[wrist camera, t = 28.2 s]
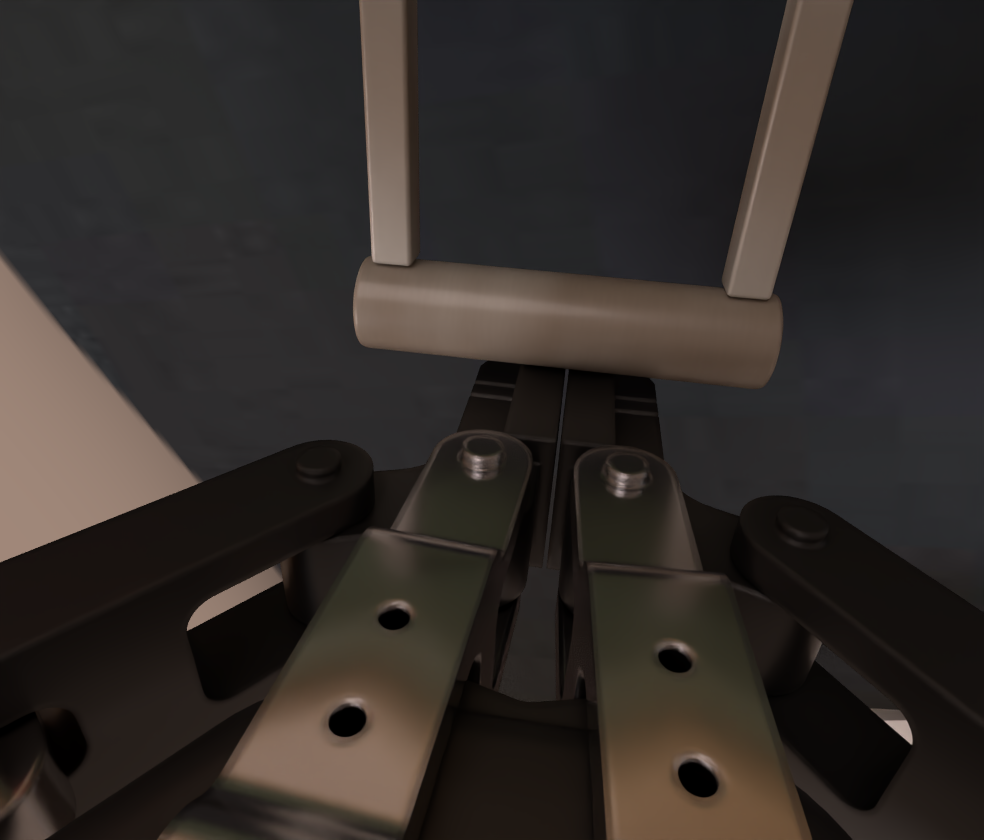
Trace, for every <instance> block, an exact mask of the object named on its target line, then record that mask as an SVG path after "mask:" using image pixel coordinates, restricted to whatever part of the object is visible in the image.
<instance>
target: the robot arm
mask: <svg viewBox="0 0 984 840" xmlns="http://www.w3.org/2000/svg"><path fill="white" fill-rule="evenodd" d="M564 378H565V369H563V368H554V367H545V366H536V365H526V364H517V363H508V362H499V361H489V360H488V361H487V362H485V363H484V364H483V365H481V367H480V370H479V372H478V375H477V378H476V381H475V384H474V386H473V389H472V392H471V396H470V397H469V400H468V403H467V406H466V408H465V411H464V414H463V417H462V419H461V422H460V425H459V428H458V430H457V433H455V434H452V435H450V436H448V437H446V438H444V439H443V440H441V441H440V442H439V443H438V444H437V445H436V446H435V448H434V449H433V451H432V453H431V455H430V457H429V459H428V460H427V462H426V464H424V465H421V466H418V467H413V468H407V469H399V470H387V471H375V472H374V470H373V462H372V459H371V457H370V456H369V454H368V453H367V452H366V451H365V450H363V449H362V448H360V447H358V446H356V445H354V444H351V443H347V442H343V441H337V440H318V441H310V442H306V443H302V444H298V445H295V446H293V447H290V448H287V449H285V450H282V451H280V452H277V453H275V454H272V455H270V456H267V457H265V458H262V459H260V460H257V461H255V462H252V463H250V464H247V465H245V466H242V467H240V468H237V469H235V470H232V471H230V472H227V473H224V474H222V475H219V476H217V477H214V478H212V479H209V480H207V481H204V482H202V483H199V484H197V485H194V486H192V487H189V488H187V489H184V490H182V491H179V492H177V493H174V494H172V495H169V496H166V497H164V498H161V499H159V500H156V501H154V502H151V503H149V504H146V505H144V506H141V507H139V508H136V509H134V510H131V511H129V512H126V513H124V514H121V515H119V516H116V517H114V518H111V519H109V520H106V521H104V522H101V523H98V524H96V525H93V526H91V527H88V528H86V529H83V530H81V531H78V532H76V533H73V534H71V535H68V536H66V537H63V538H61V539H58V540H56V541H53V542H51V543H48V544H46V545H43V546H40V547H38V548H35V549H33V550H30V551H28V552H25V553H23V554H20V555H18V556H15V557H13V558H10V559H8V560H5V561H3V562H0V840H984V612H982V611H981V610H979V609H978V608H976V607H975V606H973V605H972V604H970V603H969V602H967V601H966V600H964V599H962V598H961V597H959V596H958V595H956V594H955V593H953V592H952V591H950V590H949V589H947V588H946V587H944V586H943V585H941V584H940V583H938V582H937V581H935V580H934V579H932V578H931V577H929V576H928V575H926V574H925V573H923V572H922V571H920V570H919V569H917V568H916V567H914V566H913V565H911V564H910V563H908V562H907V561H905V560H904V559H902V558H901V557H899V556H898V555H896V554H895V553H893V552H892V551H890V550H889V549H887V548H886V547H884V546H883V545H881V544H880V543H878V542H877V541H875V540H874V539H872V538H871V537H869V536H868V535H866V534H865V533H863V532H862V531H860V530H859V529H857V528H856V527H854V526H853V525H851V524H850V523H848V522H847V521H845V520H844V519H842V518H841V517H839V516H838V515H836V514H835V513H833V512H831V511H830V510H828V509H826V508H824V507H822V506H820V505H817V504H815V503H812V502H809V501H806V500H803V499H799V498H794V497H789V496H764V497H760V498H756V499H754V500H752V501H750V502H748V503H747V504H746V505H745V506H744V507H743V509H742V511H741V514H740V516H736V515H733V514H730V513H727V512H724V511H721V510H718V509H715V508H712V507H710V506H707V505H705V504H702V503H700V502H698V501H696V500H694V499H692V498H691V497H689V496H687V495H686V494H685V493H683V492H682V491H681V487H680V483H679V480H678V477H677V474H676V472H675V471H674V470H673V468H672V467H671V466H670V465H669V464H668V463H667V462H666V461H664V457H663V448H662V440H661V432H660V424H659V417H658V408H657V404H656V401H657V400H656V392H655V384H654V383H653V382H652V381H651V380H650V379H649V378H647V377H637V376H628V375H619V374H610V373H600V372H591V371H582V370H573V369H569V374H568V383H567V392H566V400H565V409H564V418H563V426H562V435H561V444H560V453H559V462H558V471H557V480H556V489H555V498H554V507H553V515H552V524H551V533H550V542H549V551H548V560H547V568H548V569H555V570H560V575H559V587H558V595H557V602H556V610H555V662H556V701H543V702H524V701H520V700H517V699H514V698H511V697H509V696H506V695H504V694H501V693H499V692H498V691H499V687H500V683H501V679H502V675H503V671H504V667H505V663H506V659H507V656H508V652H509V648H510V644H511V640H512V636H513V632H514V628H515V624H516V620H517V616H518V612H519V607H520V598H521V593H522V591H523V589H524V588H525V585H526V581H527V575H528V568H529V566H531V567H538V568H542V565H543V556H544V548H545V540H546V531H547V523H548V515H549V506H550V498H551V490H552V481H553V473H554V465H555V456H556V448H557V440H558V431H559V422H560V414H561V405H562V396H563V387H564ZM278 563H280V565H281V571H282V577H283V581H282V582H280V583H278V584H276V585H275V586H273V587H271V588H269V589H267V590H265V591H263V592H261V593H259V594H257V595H255V596H253V597H252V598H250V599H248V600H246V601H244V602H242V603H240V604H238V605H236V606H235V607H233V608H231V609H229V610H227V611H225V612H223V613H221V614H219V615H217V616H215V617H213V618H212V619H210V620H208V621H206V622H204V623H202V624H200V625H198V626H196V627H194V628H193V629H190V630H188V631H187V625H188V622H189V620H190V618H191V616H192V615H193V613H194V612H195V610H196V609H197V608H198V607H199V606H200V605H202V604H203V603H204V602H205V601H207V600H208V599H210V598H211V597H213V596H215V595H217V594H219V593H221V592H223V591H225V590H227V589H229V588H231V587H233V586H235V585H237V584H239V583H241V582H243V581H245V580H247V579H249V578H251V577H253V576H255V575H256V574H258V573H260V572H262V571H264V570H266V569H268V568H270V567H272V566H274V565H276V564H278ZM822 643H823V644H824V645H825V646H827V647H828V648H829V649H830V650H831V651H833V652H834V653H835V654H836V655H837V656H838V657H840V658H841V659H842V660H843V661H844V662H846V663H847V664H848V665H849V666H850V667H852V668H853V669H854V670H855V671H856V672H857V673H859V674H860V675H861V676H862V677H863V678H865V679H866V680H867V681H868V682H869V683H871V684H872V685H873V686H874V687H875V688H877V689H878V690H879V691H880V692H881V693H882V694H884V695H885V696H886V697H887V698H888V699H890V700H891V701H892V702H893V703H894V704H895V705H896V706H897V708H898V709H899V710H900V711H901V713H902V714H903V715H904V717H905V719H906V720H907V722H908V724H909V727H910V729H911V733H912V741H913V742H912V745H911V744H910V743H909V742H908V741H906V740H905V739H904V738H903V737H902V736H901V735H900V734H898V733H897V732H896V731H895V730H894V729H893V728H892V727H890V726H889V725H888V724H887V723H886V722H885V721H884V720H882V719H881V718H880V717H879V716H878V715H877V714H875V713H874V712H873V711H872V710H871V709H870V708H869V707H867V706H866V705H865V704H864V703H863V702H862V701H861V700H859V699H858V698H857V697H856V696H855V695H854V694H853V693H851V692H850V691H849V690H848V689H847V688H846V687H845V686H843V685H842V684H841V683H840V682H839V681H838V680H836V679H835V678H834V677H833V676H832V675H831V674H830V673H828V672H827V671H826V670H825V669H824V668H823V667H822V666H820V665H819V664H818V663H817V662H816V661H815V658H816V656H817V653H818V651H819V649H820V647H821V644H822Z"/></svg>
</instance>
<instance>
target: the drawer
mask: <svg viewBox="0 0 984 840" xmlns="http://www.w3.org/2000/svg"><path fill="white" fill-rule="evenodd" d="M853 2H854V0H787V4H786V8H785V13H784V17H783V21H782V25H781V30H780V34H779V38H778V42H777V47H776V51H775V55H774V59H773V64H772V68H771V72H770V76H769V81H768V85H767V89H766V93H765V98H764V102H763V106H762V111H761V115H760V119H759V123H758V128H757V132H756V136H755V140H754V145H753V149H752V153H751V157H750V162H749V166H748V170H747V174H746V179H745V183H744V187H743V191H742V196H741V200H740V204H739V208H738V213H737V217H736V221H735V225H734V230H733V234H732V238H731V242H730V247H729V251H728V255H727V259H726V264H725V268H724V272H723V276H722V284H723V286H724V288H720V287H710V286H699V285H688V284H678V283H667V282H656V281H645V280H635V279H624V278H613V277H603V276H592V275H581V274H571V273H560V272H549V271H539V270H528V269H517V268H507V267H496V266H485V265H474V264H464V263H453V262H442V261H432V260H421V259H416V258H417V257H418V255H419V253H420V216H419V122H418V27H417V0H359V6H360V26H361V47H362V67H363V87H364V108H365V128H366V149H367V169H368V189H369V210H370V230H371V251H372V256H369V257H367V258H366V259H365V260H364V261H363V263H362V265H361V267H360V270H359V272H358V276H357V279H356V284H355V290H354V299H353V318H354V326H355V331H356V335H357V338H358V340H359V342H360V343H361V344H362V345H364V346H366V347H369V348H378V349H387V350H397V351H406V352H415V353H424V354H434V355H443V356H452V357H461V358H471V359H480V360H489V361H499V362H508V363H517V364H526V365H536V366H545V367H554V368H563V369H573V370H582V371H591V372H600V373H610V374H619V375H628V376H637V377H647V378H656V379H665V380H674V381H684V382H693V383H702V384H712V385H721V386H730V387H739V388H749V389H758V388H762V387H764V386H765V385H766V384H767V382H768V381H769V379H770V377H771V375H772V373H773V371H774V368H775V366H776V363H777V360H778V356H779V352H780V347H781V342H782V334H783V312H782V305H781V301H780V299H779V297H778V296H777V295H775V294H774V293H772V292H773V288H774V285H775V281H776V278H777V274H778V270H779V267H780V263H781V260H782V256H783V253H784V249H785V245H786V242H787V238H788V235H789V231H790V227H791V224H792V220H793V217H794V213H795V210H796V206H797V202H798V199H799V195H800V192H801V188H802V184H803V181H804V177H805V174H806V170H807V167H808V163H809V159H810V156H811V152H812V149H813V145H814V142H815V138H816V134H817V131H818V127H819V124H820V120H821V116H822V113H823V109H824V106H825V102H826V99H827V95H828V91H829V88H830V84H831V81H832V77H833V73H834V70H835V66H836V63H837V59H838V56H839V52H840V48H841V45H842V41H843V38H844V34H845V30H846V27H847V23H848V20H849V16H850V13H851V9H852V5H853Z"/></svg>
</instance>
